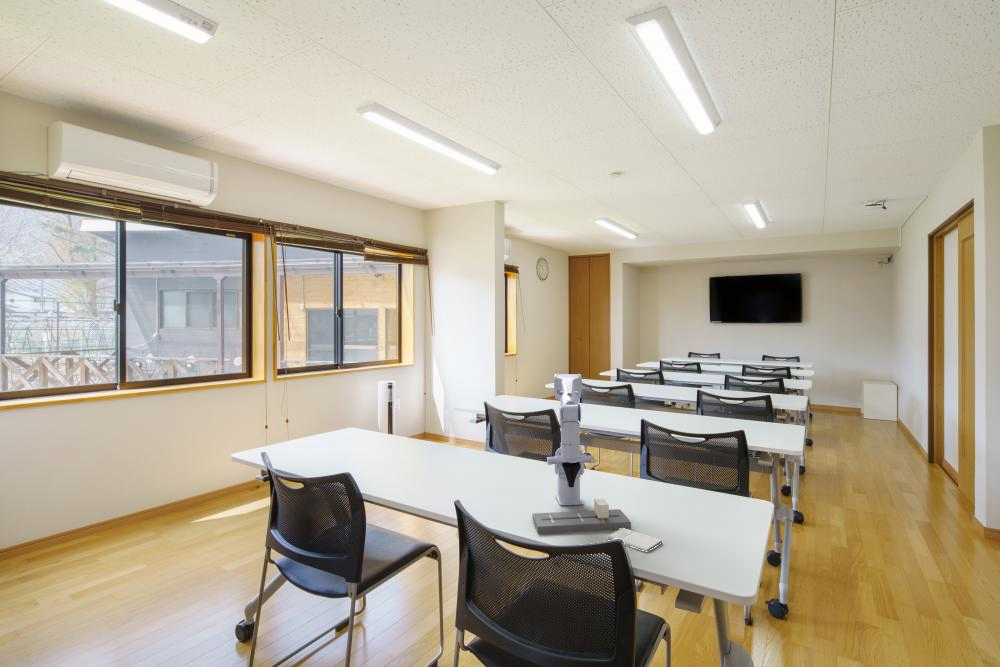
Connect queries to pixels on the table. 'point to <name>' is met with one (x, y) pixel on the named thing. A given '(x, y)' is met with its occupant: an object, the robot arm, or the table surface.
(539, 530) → the console
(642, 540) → the external hard drive
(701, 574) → the table surface
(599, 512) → the fader tab
